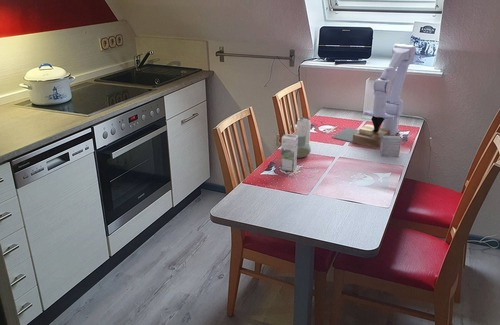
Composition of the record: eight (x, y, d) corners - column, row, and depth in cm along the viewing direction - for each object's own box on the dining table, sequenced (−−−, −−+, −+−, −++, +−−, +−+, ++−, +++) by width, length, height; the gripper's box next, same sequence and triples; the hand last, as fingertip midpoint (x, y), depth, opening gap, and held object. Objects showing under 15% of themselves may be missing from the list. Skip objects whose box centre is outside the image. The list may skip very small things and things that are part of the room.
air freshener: (288, 160, 200) (289, 138, 196) (283, 153, 208) (284, 132, 204) (312, 158, 202) (314, 137, 198) (306, 151, 210) (307, 130, 206)
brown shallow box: (366, 132, 234) (367, 125, 233) (389, 137, 228) (390, 129, 226) (352, 142, 221) (353, 134, 219) (376, 148, 214) (377, 140, 213)
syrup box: (296, 166, 193) (298, 134, 188) (293, 172, 188) (295, 139, 182) (283, 165, 195) (285, 133, 189) (280, 170, 190) (281, 137, 184)
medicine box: (397, 153, 208) (399, 135, 205) (399, 157, 204) (401, 139, 201) (379, 153, 209) (381, 135, 205) (380, 156, 205) (383, 138, 201)
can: (311, 142, 221) (312, 118, 216) (306, 146, 215) (308, 122, 211) (298, 139, 223) (299, 116, 219) (294, 144, 218) (295, 120, 213)
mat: (346, 128, 240) (346, 127, 240) (365, 132, 234) (365, 131, 234) (331, 137, 226) (331, 137, 226) (351, 142, 221) (351, 141, 221)
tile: (366, 127, 229) (366, 124, 228) (377, 130, 225) (378, 126, 225) (359, 132, 222) (359, 128, 221) (370, 135, 219) (371, 131, 218)
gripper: (362, 103, 217) (359, 130, 222) (392, 109, 209) (388, 137, 214) (367, 100, 222) (364, 127, 227) (397, 105, 214) (393, 133, 220)
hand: (376, 131), depth 221 cm, fingers closed
